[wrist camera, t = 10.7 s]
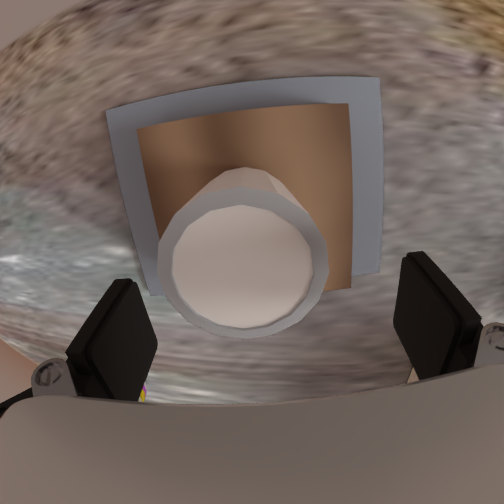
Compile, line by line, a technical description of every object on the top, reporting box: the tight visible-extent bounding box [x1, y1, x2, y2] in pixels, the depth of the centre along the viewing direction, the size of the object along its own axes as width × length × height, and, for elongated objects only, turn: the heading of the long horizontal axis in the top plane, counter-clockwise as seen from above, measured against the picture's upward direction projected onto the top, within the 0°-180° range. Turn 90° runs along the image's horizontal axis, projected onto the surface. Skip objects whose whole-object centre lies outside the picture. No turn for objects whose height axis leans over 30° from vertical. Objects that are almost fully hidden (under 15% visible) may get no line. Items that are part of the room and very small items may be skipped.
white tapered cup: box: [157, 167, 329, 339], centre depth 15 cm, size 7×7×7 cm
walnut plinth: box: [137, 103, 353, 291], centre depth 20 cm, size 12×12×5 cm
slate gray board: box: [105, 76, 384, 296], centre depth 23 cm, size 20×16×1 cm
